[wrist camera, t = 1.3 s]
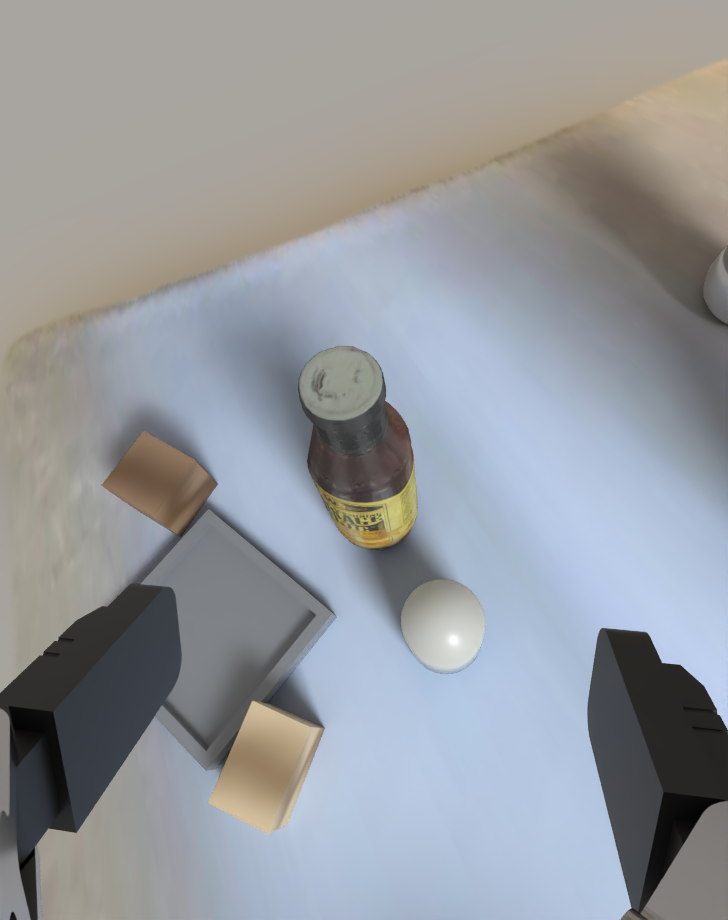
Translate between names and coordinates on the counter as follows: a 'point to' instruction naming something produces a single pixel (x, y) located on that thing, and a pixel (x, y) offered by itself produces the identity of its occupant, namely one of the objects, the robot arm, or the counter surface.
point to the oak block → (266, 767)
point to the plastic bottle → (718, 286)
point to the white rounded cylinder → (443, 625)
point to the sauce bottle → (358, 448)
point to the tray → (230, 634)
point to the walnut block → (161, 483)
